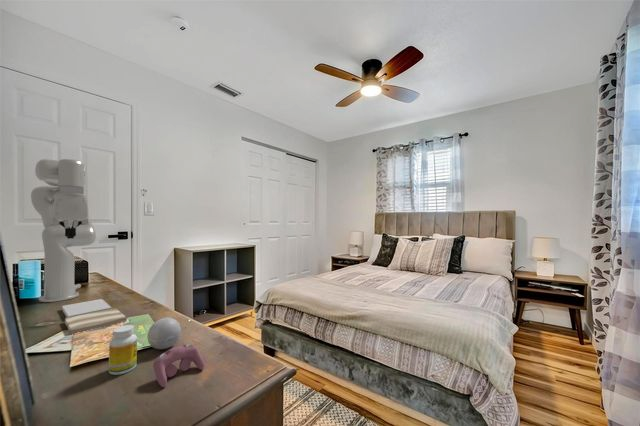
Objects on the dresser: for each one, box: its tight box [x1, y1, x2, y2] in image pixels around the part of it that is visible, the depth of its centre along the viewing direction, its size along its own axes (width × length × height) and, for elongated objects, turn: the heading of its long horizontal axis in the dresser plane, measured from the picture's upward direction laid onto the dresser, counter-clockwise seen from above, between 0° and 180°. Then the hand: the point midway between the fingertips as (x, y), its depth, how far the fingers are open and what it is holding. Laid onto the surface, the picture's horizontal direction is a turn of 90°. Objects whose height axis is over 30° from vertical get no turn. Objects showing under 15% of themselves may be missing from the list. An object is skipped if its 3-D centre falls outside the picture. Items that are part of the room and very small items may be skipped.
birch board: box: [64, 307, 128, 336], centre depth 92 cm, size 14×14×2 cm
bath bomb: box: [147, 317, 182, 350], centre depth 75 cm, size 8×8×8 cm
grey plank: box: [61, 298, 113, 318], centre depth 103 cm, size 16×12×2 cm
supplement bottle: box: [108, 324, 138, 376], centre depth 65 cm, size 5×5×10 cm
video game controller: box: [152, 344, 205, 388], centre depth 63 cm, size 10×5×7 cm, turn 141°
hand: (70, 238), depth 107 cm, fingers closed
